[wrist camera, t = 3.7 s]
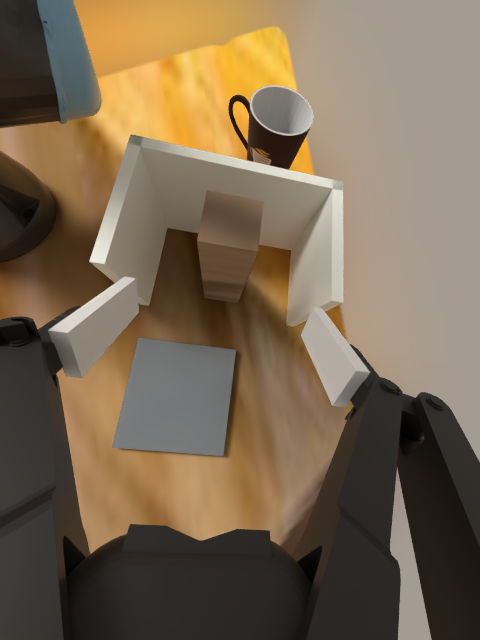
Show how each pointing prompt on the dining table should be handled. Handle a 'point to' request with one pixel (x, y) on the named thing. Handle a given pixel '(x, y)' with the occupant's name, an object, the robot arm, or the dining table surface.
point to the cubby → (186, 211)
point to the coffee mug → (274, 125)
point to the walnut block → (228, 244)
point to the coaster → (176, 398)
